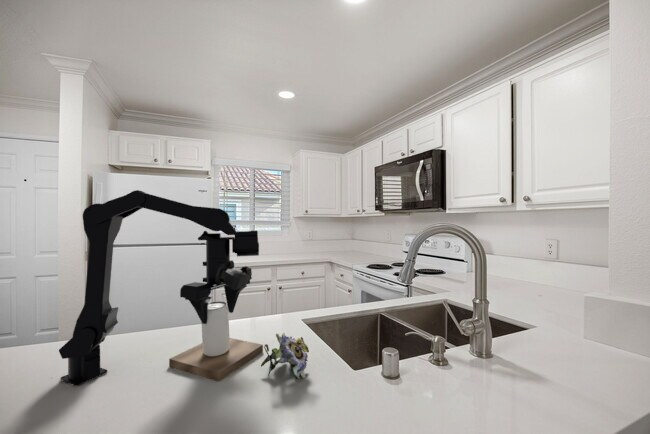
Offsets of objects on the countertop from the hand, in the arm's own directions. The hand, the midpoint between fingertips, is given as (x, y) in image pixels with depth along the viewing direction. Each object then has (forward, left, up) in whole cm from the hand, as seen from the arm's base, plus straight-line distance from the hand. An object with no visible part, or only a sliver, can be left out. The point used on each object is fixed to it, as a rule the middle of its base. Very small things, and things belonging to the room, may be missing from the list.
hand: (218, 317), depth 76 cm
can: (0, 0, -9) cm, 9 cm away
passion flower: (+20, 0, -11) cm, 23 cm away
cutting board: (0, 0, -11) cm, 11 cm away
